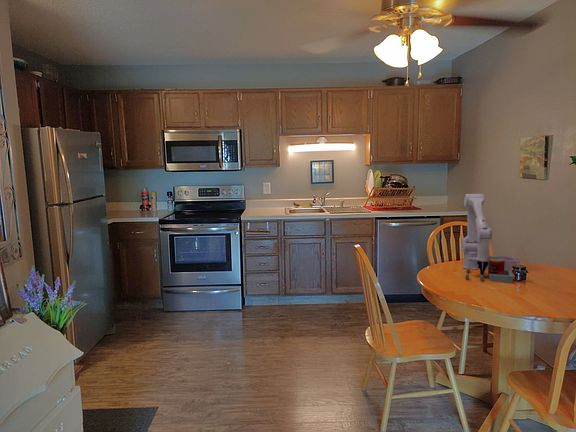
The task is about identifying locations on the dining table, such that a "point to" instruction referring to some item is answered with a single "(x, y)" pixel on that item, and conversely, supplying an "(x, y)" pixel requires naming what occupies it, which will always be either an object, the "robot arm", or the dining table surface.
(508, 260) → the clip
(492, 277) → the end cradle
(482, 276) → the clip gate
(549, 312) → the dining table surface
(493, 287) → the dining table surface
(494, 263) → the canned food
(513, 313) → the dining table surface
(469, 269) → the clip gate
